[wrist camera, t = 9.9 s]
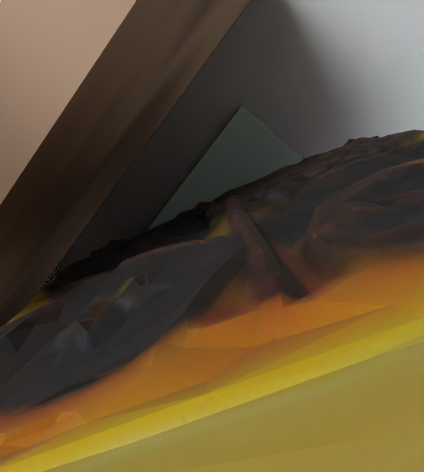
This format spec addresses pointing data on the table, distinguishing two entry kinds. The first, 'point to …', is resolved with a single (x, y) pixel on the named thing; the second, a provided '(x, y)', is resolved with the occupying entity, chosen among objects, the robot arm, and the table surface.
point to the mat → (231, 164)
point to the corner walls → (83, 113)
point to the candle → (237, 332)
